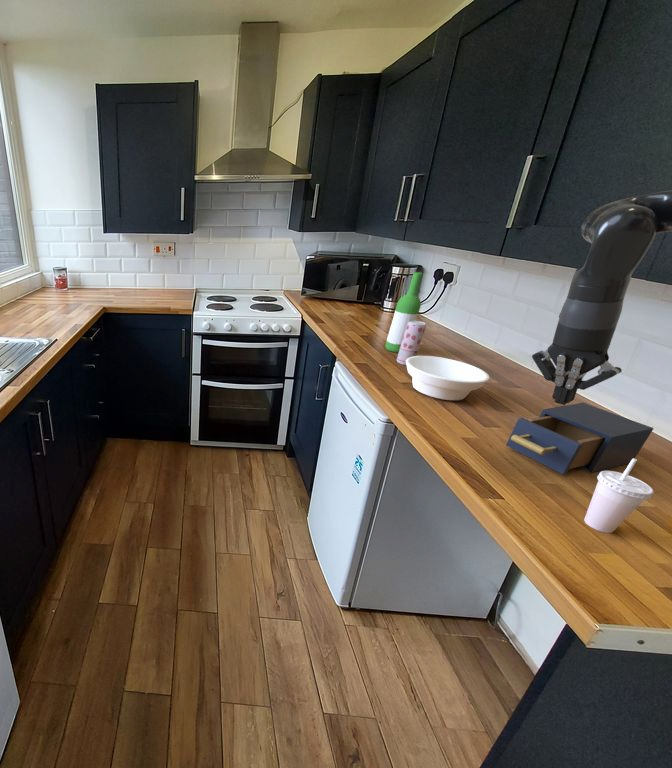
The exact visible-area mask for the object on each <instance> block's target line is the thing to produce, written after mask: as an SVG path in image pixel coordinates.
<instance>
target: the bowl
mask: <svg viewBox="0 0 672 768" xmlns="http://www.w3.org/2000/svg"><path fill="white" fill-rule="evenodd" d="M405 366H406V369H407V373H408V374H409V375H410V376H411V378H412V379H411V380H412V387H413V389H415V390H416V391H417V392H419V393H421V394H423V395H426V396H428V397H431V398H435V399H439V400H445V401H462V400H464V399H465V398H467V396H468V395H469V394H470V393H471V391H476V390H479V389H480V388H481V387H482V386H484V385H485V384H486V383H487V382H488V381H490V377H491V376H490V375H489V373H487V371H485V370H483V369H482V368H479V367H477V366H474V365H472V364H470V363H467V362H463V361H460V360H455V359H451V358H447V357H440V356H433V355H417V356H413V357H409V358H407V360H406V365H405Z"/></svg>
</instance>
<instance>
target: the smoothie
mask: <svg viewBox="0 0 672 768" xmlns="http://www.w3.org/2000/svg"><path fill="white" fill-rule="evenodd" d="M637 462H638V459H637V458H636V457H635V458H633V459H632V460H631V462H630V463H629V464H627V467H626V469H625V470H624V471H623V472H618V471H614V470H601V471H599V474H598V475H597V476H596V479H597V483H596V486H595V489H594V491H593V494H592V497H591V500H590V503H589V505H588V508H587V510H586V512H585V516H584V518H583V521H584V523H585V524H586V525H587V526H588V527H590V528H592V529H594V530H595V531H598V532H600V533H601V532H602V533H604V534H612V533H613V532H615V530H617V528H618V527H620V525H622V523H623V522H624V521H625V520H626V519H627V518H628V517H630V515H631V514H632V513H634V511H635V510H636V509H637V508H638V507H639V506H640V505H641V504H642V503H643V502H644V501H645V500H648V499H651V498H652V495H653V494H654V489H653V488H652V487H651V486H650V485H649V484H647V483H646V482H644V481H642V480H641V479H639V478H636V477H634V476H631V475H630V472H631V471H632V469H633V468H634V466H635V465H636V463H637Z"/></svg>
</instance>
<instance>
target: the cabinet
mask: <svg viewBox="0 0 672 768" xmlns="http://www.w3.org/2000/svg"><path fill="white" fill-rule="evenodd" d="M545 416H552V417H555V418H557V419H560V420H562V421H564V422H567V423H569V424H572V425H574V426H577V427H579V428H582V429H584V430H586V431H589V432H591V433H594V434H596V435H599V436H601V437H603V438H606V439H605V440H604V442H603V444H602V445H601V447H600V449H599V451H598V452H597V454H596V456H595V457H594V459H593V461H592V463H591V464H588V465H584V466H580V467H579V468H580V469H582V470H584V471H586V472H588V473H590V474H592V473H596V472H602V471H606V470H608V469H612V468H617V467H620V466H624V465H629V463H630V462H631V460H632V459H633V458H635V459H636V457H637V456H638V454H639V452H640V451H641V450H642V448H643V446H644V445H645V443H646V442H647V440H648V438H649V437H650V435H651V434H652V432H653V430H654V427H651V426H649V425H647V424H644V423H641V422H639V421H635V420H633V419H630V418H627V417H625V416H621V415H620V414H616V413H614V412H610V411H608V410H605V409H602V408H599V407H597V406H594V405H591V404H589V403H587V402H578V403H573V404H565V405H561V406H554V407H548V408H543V409H542V411H541V413H540V414H539V417H538V418H540V417H545Z"/></svg>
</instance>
